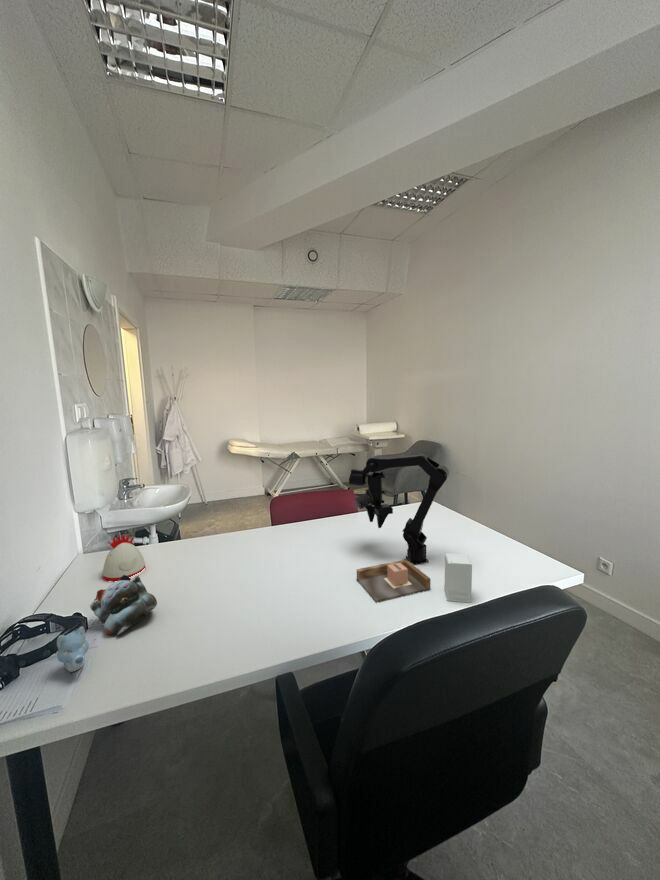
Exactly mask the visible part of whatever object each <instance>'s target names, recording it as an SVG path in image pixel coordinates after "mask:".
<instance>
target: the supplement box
mask: <svg viewBox="0 0 660 880" xmlns="http://www.w3.org/2000/svg"><path fill="white" fill-rule="evenodd" d="M444 555H445V556H444V586H443V587H444V592H445V597H446V601H448V602H457V603H469V604H470V603H472V583H473V582H472V580H473V564H472V561H471V559H470V556H469V555H468V554H466V553H464V554H462V553H448V552H447V553H445V554H444Z"/></svg>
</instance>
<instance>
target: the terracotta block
mask: <svg viewBox="0 0 660 880" xmlns="http://www.w3.org/2000/svg"><path fill="white" fill-rule="evenodd" d="M387 579H388V580H389V581H390V582H391V583H392V584H393V585H394V586H397V585H401V584H405V583H408V569H407V568H406V567H405V566H403V565H402V564H401V563H396V564H391V565H387Z"/></svg>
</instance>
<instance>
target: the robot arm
mask: <svg viewBox="0 0 660 880" xmlns="http://www.w3.org/2000/svg"><path fill="white" fill-rule="evenodd" d="M414 466H415V467H416V466H418V467H419V468H421V470H423V471H424V472H425V474H427V476H428V477H429V480H428V485H427V489H426V491H425V493H424V496H423V498H422V500H421V502H420V504H419V506H418V508H417V510H416V513H415V514H414V517H413V518H412V517H409V519H408V520H407V521H406V523H405V525H404V528H403V529H402V532H403V533H402V537H403V540H404V541H405V542H406V543H407V549H406V550H407V551H406V553H407V554H406V556H405V559H406V560H408V561H409V562H410V563H411V564H413V565H414V566H415V565H416V566H417V565H421V564H425V563H426V564H427V563H429V559H427V544H425V542H426V541H427V538H428V537H427V535H425V533H424V532H423V531H422V530H423V526H424V521H425V519H426V516H427V515H428V512H429V510H430V509H431V506H432V504H433V503H434V500H435V498H436V496H437V494H438V491H439V490H440V489H441V488H442V486H443V485H444V484H445V482H446V481H447V479H448V477H449V476H450V470H449V469H448V468H447V466H446V465H442V464H440V463H438V462H437V461H436V460H434V459H432V458H430V457H428V456H427V455H426V454H424V453H420V454H413V455H403V456H401V455H400V456H393V457H390V456H385V455H374V456H372V457H370V458H368V459H367V461H366V462H365V467H364V468H363V469H357V468H353V469H351V470H350V474H349V478H348V484H349V485H350V486H355V487H366V485H367V489H365V493H363V494H361V495H358V496H357V497H355V498H354V503H355V505H356V507H357V508H359V509H360V510H361V509H365V510H366V513H367V516H368V520H369V522H370V523H373V522H374V520H375V516H376V523H377V528H378V529H381V528H382V527H383V525H384V522H385V521H386V519H387V517H388V516H389V515H391V514H392V515H393V514H394V509H393V507H392V506H391V505H389V504H387V503H385V500H384V499H383V494H385V490H384V489H383V479H385V478H387V477H388V474H387V473H385V470H387V469H392V468H403V467H405V468H406V467H414Z"/></svg>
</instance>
